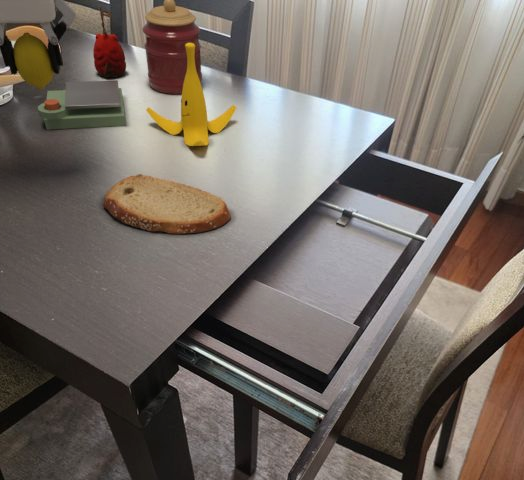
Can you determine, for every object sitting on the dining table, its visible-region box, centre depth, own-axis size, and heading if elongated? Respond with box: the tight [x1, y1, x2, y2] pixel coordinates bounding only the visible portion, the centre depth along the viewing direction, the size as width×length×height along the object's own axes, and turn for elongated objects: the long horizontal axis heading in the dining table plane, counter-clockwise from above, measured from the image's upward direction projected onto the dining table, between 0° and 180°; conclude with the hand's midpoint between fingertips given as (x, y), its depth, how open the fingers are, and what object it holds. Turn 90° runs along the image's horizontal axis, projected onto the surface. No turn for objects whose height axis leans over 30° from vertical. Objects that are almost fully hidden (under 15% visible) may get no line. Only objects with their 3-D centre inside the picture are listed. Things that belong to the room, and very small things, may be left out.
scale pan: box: [65, 79, 121, 109], centre depth 104 cm, size 11×13×1 cm
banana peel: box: [145, 43, 237, 147], centre depth 97 cm, size 17×19×17 cm
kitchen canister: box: [142, 0, 203, 95], centre depth 113 cm, size 13×13×18 cm
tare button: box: [43, 99, 60, 110], centre depth 99 cm, size 3×3×1 cm
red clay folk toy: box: [92, 6, 127, 79], centre depth 116 cm, size 8×7×15 cm
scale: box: [37, 87, 127, 131], centre depth 105 cm, size 17×15×4 cm
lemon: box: [13, 32, 55, 91], centre depth 75 cm, size 6×6×8 cm
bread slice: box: [102, 173, 232, 235], centre depth 81 cm, size 18×18×4 cm
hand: (36, 69), depth 76 cm, fingers closed on lemon, 5 cm apart
